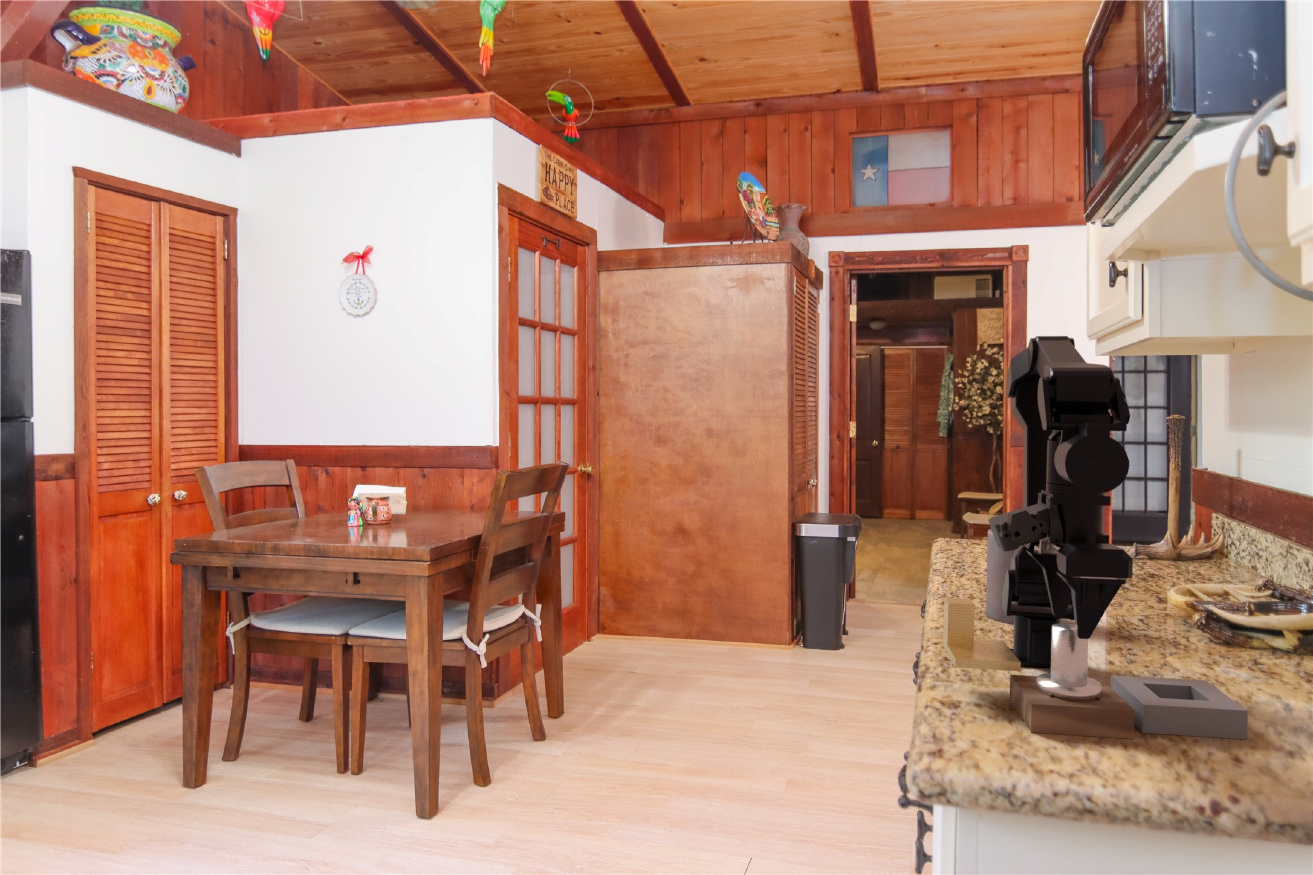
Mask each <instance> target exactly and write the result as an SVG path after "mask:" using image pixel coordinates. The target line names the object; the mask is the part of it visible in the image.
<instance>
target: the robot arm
mask: <svg viewBox="0 0 1313 875" xmlns="http://www.w3.org/2000/svg"><path fill="white" fill-rule="evenodd" d="M1008 366H1009V367H1008V369H1007V372H1006V373H1007V374H1006V381H1005V382H1006V383H1005V390H1006V391H1005V392H1006V393H1005V394H1006V398H1007V399H1009V398H1010V411H1011V412H1010V413H1011V414H1012V415H1013V417H1014V419H1015V420H1016V422H1017V423H1018V425H1019V426H1020V427H1021V429H1022V431H1023V436H1022V437H1023V440H1022V441H1023V443H1022V444H1023V445H1022V446H1023V450H1022V452H1023V461H1022V462H1023V469H1022V470H1023V475H1022V476H1023V477H1022V478H1023V484H1022V485H1023V487H1022V490H1023V491H1022V492H1023V494H1022V495H1023V496H1022V497H1023V498H1022V499H1023V500H1022V501H1023V507H1020V508H1017V509H1013V510H1012V511H1008V512H1004V513H1002V514H999V515H995V516H992V517H990V518H989V519H988V523H989V527H990V529H992V532H993V535H994V538H995V541H996V544H997V546H998V547H1001V549H1002V550H1003V551H1012V550H1016V551H1015V552H1014V554H1013V555H1012V557H1011V568H1010V570H1008V569H1007V571H1006V575H1005V580H1004V586H1003V591H1002V609H1003V611H1004V612H1005V614H1006V616H1011V615H1012V616H1014V624H1013V648H1010V647H1009V648H1010V650H1011V651H1012V652H1013V653H1014V655H1015V656H1016V657H1017V658H1018V660H1019V661H1020V662H1021V666H1024V667H1025V666H1026V667H1043V668H1051V643H1052V625H1054V624H1060V623H1062V620H1070V621H1074V624H1075V625H1076V631H1077V637H1078V638H1080V639H1088V640H1090V638H1091V637H1092V635H1093V633H1094V632H1095V630H1096V628H1097V626H1098V625H1099V623H1100V622H1101V620H1102V619H1103V618H1102V617H1103V616H1104V615H1105V613H1106V611H1107V609H1108V607H1110V606H1109V605H1110V604H1111V603H1112V602H1113V600H1114V598H1115V597H1116V595H1117V593H1118V592H1119V590H1121V589H1120V588H1122V586H1124V585H1127V584H1126V583H1127V579H1132V578H1133V572H1134V570H1133V568H1134V559H1133V558H1132V557H1131V555H1129V553H1127V551H1126V550H1124V549H1123V548H1122V547H1119V546H1117V545H1115V544H1113V543H1110V534H1107V533H1106V532H1104V520H1105V519H1104V518H1105V517H1104V516H1105V507H1109V506H1111V498H1112V497H1111V496H1110V495H1109V494H1105V493H1108V492H1111V491H1113V490H1116V488H1118V487H1119V486H1120V485H1121V484H1123V482H1124V481H1125V480H1126V478H1127V476H1128V473H1129V470H1130V459H1129V457H1128V456H1129V455H1128V453H1127V451H1126V450H1125V448H1124V447H1123V445H1122V444H1121V443H1119V442H1118V441H1117V440H1116V439H1114V438H1112V437H1111V432H1127V428H1128V426H1127V425H1129V423H1130V419H1131V412H1130V409H1129V403H1128V400H1127V396H1126V393H1125V388H1124V387H1123V386H1122V385H1121V381H1120V378H1119V376H1115V373H1114V370H1113V369H1112V368H1111V367H1110V366H1108V365H1104V364H1101V363H1100V364H1098V363H1089V362H1086V360H1085V358H1083V356H1082V355H1081V354H1080V352H1079V351H1078V349H1076V342H1075V339H1074V338H1073V337H1069V336H1067V335H1036V336H1035V337H1034V338H1033V337H1032V338H1031V337H1030V339H1029V342H1028V346H1027V347H1026V348H1024V349H1023V350H1022V351H1020V352H1019V353H1018V354H1016V355H1015V356H1013V357H1012V358H1011V359H1010V361H1009V365H1008ZM1012 601H1013V602H1015V603H1016V604H1012Z"/></svg>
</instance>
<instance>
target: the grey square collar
mask: <svg viewBox="0 0 1313 875" xmlns="http://www.w3.org/2000/svg"><path fill="white" fill-rule="evenodd" d="M1110 675H1111V676H1110V687H1111V688H1112V689H1113V690H1114V691H1115V692H1116V693H1117V694H1118V695H1119V696H1120V697H1121V698H1122V699H1124V700H1125V701H1126V702H1127V703H1128V704H1129V705H1130V706H1131V707H1132V708H1133V709H1134V710H1135V715H1134V727H1136V728H1137V729H1138V730H1139V731H1140V733H1142V734H1154V735H1155V734H1156V735H1169V734H1171V736H1173V735H1172V734H1174V736H1184V737H1185V736H1186V737H1187V736H1188V737H1201V738H1202V737H1203V738H1217V739H1233V740H1234V739H1235V740H1248V719H1249V716H1248V715H1249V710H1248V709H1246V708H1244V706H1242V705H1241V704H1240V703H1238V702H1236V701H1235V700H1234V699H1232V698H1231V697H1230V696H1228V695H1227V694H1226V693H1224V692H1222V691H1221V690H1220V689H1218V688H1217V687H1215V686H1214V685H1213V684H1212V683H1210V682H1208V681H1207V680H1205V679H1189V678H1187V679H1186V678H1171V677H1152V676H1150V677H1149V676H1135V675H1134V676H1133V675H1117V674H1115V675H1114V674H1113V675H1112V674H1110Z"/></svg>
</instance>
